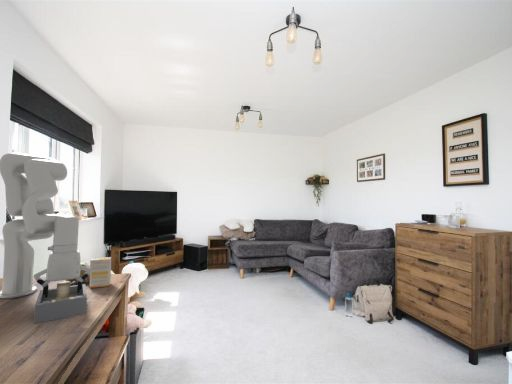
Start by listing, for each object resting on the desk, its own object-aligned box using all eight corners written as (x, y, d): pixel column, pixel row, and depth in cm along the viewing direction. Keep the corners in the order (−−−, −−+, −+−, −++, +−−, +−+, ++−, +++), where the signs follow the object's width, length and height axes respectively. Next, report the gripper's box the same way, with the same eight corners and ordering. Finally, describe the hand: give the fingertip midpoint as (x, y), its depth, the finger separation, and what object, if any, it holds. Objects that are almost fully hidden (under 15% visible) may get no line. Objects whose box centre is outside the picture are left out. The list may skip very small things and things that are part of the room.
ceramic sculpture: (97, 259, 136) (89, 269, 122) (97, 275, 136) (89, 287, 122) (74, 260, 132) (63, 270, 118) (73, 277, 133) (62, 289, 119)
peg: (55, 308, 97) (57, 282, 97) (68, 306, 99) (70, 280, 99) (55, 312, 94) (56, 285, 94) (68, 310, 96) (70, 283, 96)
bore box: (39, 305, 99) (40, 290, 99) (84, 298, 107) (85, 284, 107) (33, 323, 86) (34, 305, 86) (85, 313, 94) (86, 297, 94)
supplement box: (110, 283, 126) (112, 256, 126) (108, 286, 121) (110, 259, 122) (91, 284, 123) (92, 257, 123) (88, 288, 118) (90, 259, 119)
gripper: (33, 252, 89) (31, 302, 88) (92, 248, 99) (90, 293, 98) (36, 248, 95) (33, 295, 94) (91, 245, 105) (89, 287, 104)
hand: (62, 294), depth 96 cm, fingers open, 9 cm apart
